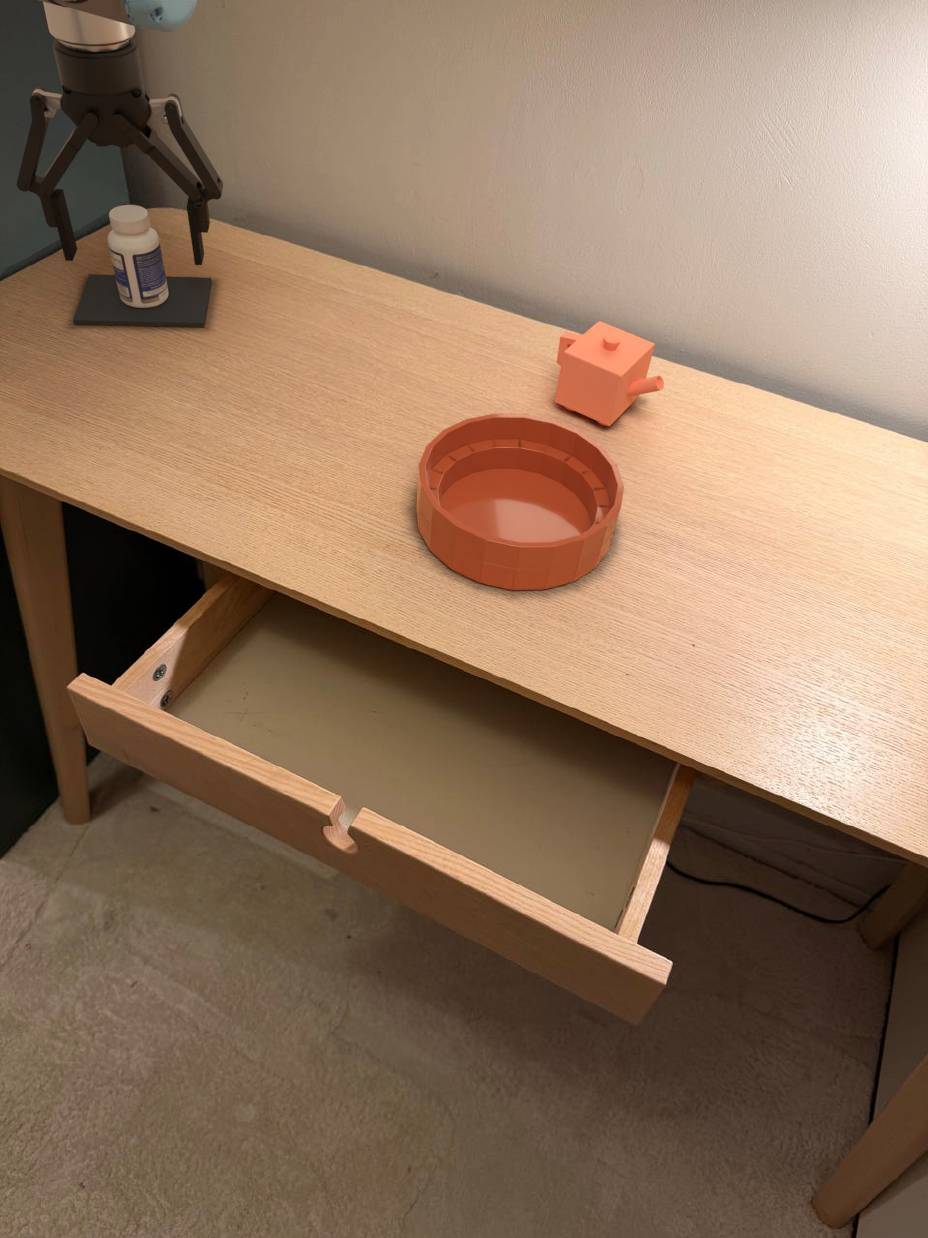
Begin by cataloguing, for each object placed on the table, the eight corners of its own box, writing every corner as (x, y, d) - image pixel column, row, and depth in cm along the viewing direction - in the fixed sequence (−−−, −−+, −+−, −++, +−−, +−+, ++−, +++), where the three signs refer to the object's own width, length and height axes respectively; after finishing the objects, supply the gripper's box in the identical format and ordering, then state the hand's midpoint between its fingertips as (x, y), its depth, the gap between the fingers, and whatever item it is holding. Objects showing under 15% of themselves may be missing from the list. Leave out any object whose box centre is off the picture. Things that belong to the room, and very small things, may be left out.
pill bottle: (173, 286, 106) (159, 203, 99) (164, 311, 102) (149, 226, 95) (125, 283, 106) (108, 199, 98) (115, 308, 102) (95, 222, 95)
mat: (74, 324, 100) (72, 319, 100) (89, 278, 107) (88, 273, 106) (204, 327, 102) (203, 322, 102) (212, 281, 109) (211, 277, 108)
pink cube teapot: (634, 446, 94) (653, 378, 88) (535, 401, 98) (547, 333, 92) (666, 411, 99) (686, 344, 92) (570, 370, 102) (584, 303, 96)
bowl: (423, 593, 78) (426, 547, 74) (411, 458, 90) (413, 412, 86) (629, 590, 80) (643, 546, 76) (590, 459, 92) (601, 414, 88)
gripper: (234, 33, 88) (253, 244, 104) (-38, 15, 85) (24, 236, 101) (228, 59, 83) (249, 277, 99) (-61, 42, 80) (8, 270, 96)
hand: (136, 257), depth 100 cm, fingers open, 13 cm apart
